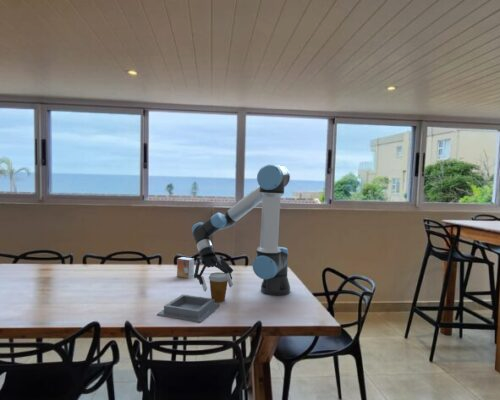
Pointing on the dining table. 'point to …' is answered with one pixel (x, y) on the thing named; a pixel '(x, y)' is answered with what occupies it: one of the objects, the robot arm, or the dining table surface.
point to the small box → (185, 267)
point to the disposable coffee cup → (218, 286)
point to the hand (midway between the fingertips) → (218, 288)
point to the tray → (189, 308)
